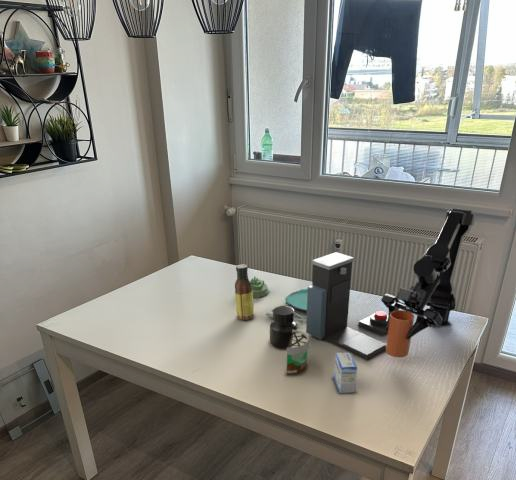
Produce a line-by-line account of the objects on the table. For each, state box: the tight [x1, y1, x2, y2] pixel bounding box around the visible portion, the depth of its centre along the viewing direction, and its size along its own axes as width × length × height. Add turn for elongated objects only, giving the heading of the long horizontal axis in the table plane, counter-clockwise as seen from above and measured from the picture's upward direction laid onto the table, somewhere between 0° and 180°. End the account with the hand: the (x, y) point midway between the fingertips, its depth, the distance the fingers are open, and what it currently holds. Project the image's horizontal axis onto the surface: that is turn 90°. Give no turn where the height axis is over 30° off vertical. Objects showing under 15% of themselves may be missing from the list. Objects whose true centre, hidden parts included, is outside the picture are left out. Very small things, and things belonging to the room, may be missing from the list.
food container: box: [285, 329, 311, 376], centre depth 146 cm, size 12×6×10 cm, turn 168°
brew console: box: [358, 312, 389, 337], centre depth 170 cm, size 11×10×4 cm
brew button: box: [374, 310, 388, 320], centre depth 169 cm, size 4×4×2 cm
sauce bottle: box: [234, 263, 255, 321], centre depth 174 cm, size 7×6×20 cm
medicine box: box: [333, 352, 358, 394], centre depth 138 cm, size 8×4×9 cm, turn 5°
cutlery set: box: [264, 288, 308, 326], centre depth 184 cm, size 20×30×2 cm, turn 136°
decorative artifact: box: [249, 275, 269, 299], centre depth 197 cm, size 10×7×10 cm
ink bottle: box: [269, 305, 298, 350], centre depth 159 cm, size 10×9×12 cm
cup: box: [385, 309, 415, 358], centre depth 146 cm, size 7×7×12 cm
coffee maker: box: [305, 251, 386, 361], centre depth 156 cm, size 14×25×26 cm, turn 41°
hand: (396, 334), depth 145 cm, fingers closed on cup, 7 cm apart
